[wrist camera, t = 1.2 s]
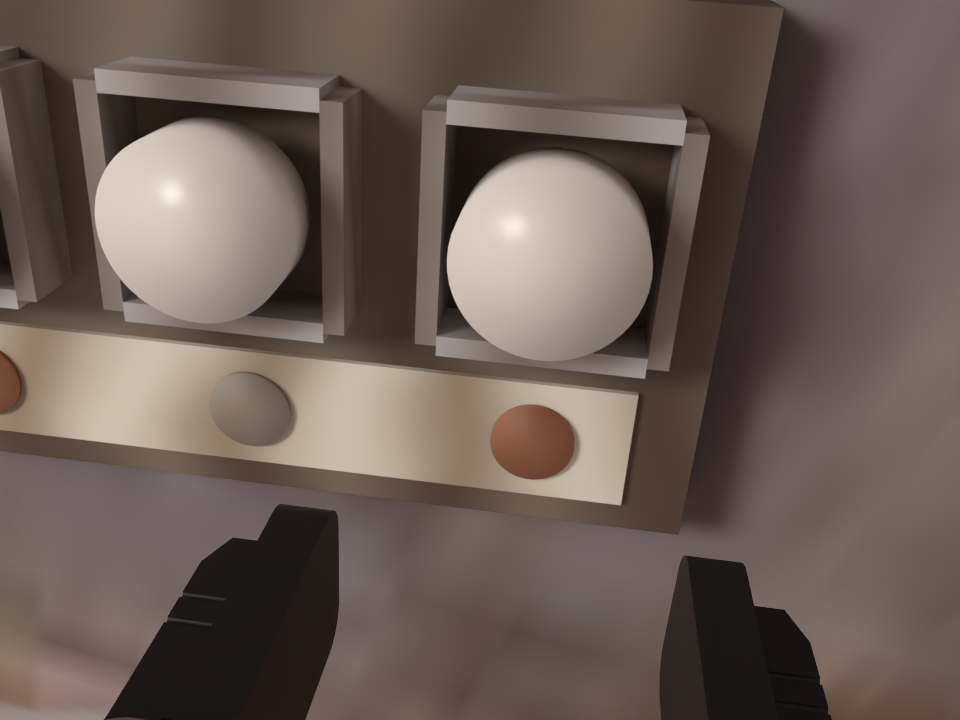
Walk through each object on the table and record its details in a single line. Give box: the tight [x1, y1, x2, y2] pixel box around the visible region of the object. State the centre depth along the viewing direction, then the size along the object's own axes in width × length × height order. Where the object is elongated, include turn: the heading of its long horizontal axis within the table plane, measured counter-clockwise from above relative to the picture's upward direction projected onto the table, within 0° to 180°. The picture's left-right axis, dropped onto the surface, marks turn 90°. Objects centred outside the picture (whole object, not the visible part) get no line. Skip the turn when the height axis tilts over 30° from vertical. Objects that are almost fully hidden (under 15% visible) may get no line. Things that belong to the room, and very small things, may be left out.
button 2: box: [447, 147, 653, 361], centre depth 23 cm, size 5×5×2 cm
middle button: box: [95, 115, 311, 324], centre depth 24 cm, size 5×5×2 cm
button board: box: [0, 0, 784, 535], centre depth 27 cm, size 28×16×4 cm, turn 86°
